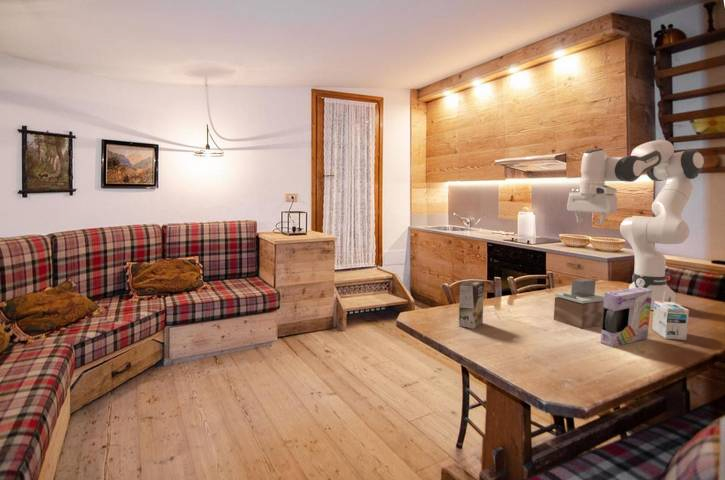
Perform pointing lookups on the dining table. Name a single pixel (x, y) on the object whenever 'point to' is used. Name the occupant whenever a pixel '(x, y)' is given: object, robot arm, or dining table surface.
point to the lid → (580, 299)
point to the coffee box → (471, 304)
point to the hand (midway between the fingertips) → (589, 223)
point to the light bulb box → (670, 320)
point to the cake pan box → (625, 316)
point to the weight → (583, 287)
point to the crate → (578, 312)
